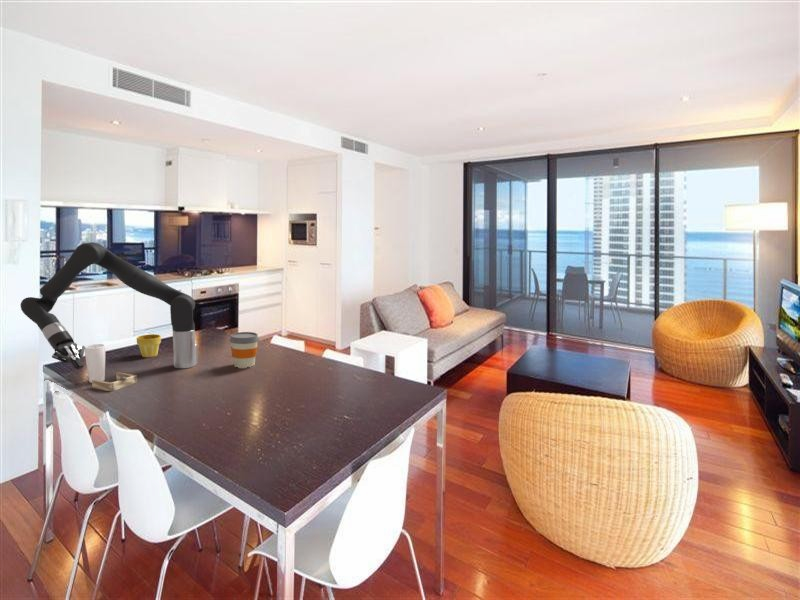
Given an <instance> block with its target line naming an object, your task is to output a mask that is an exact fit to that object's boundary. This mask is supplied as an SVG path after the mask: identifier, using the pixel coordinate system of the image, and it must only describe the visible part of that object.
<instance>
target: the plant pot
mask: <svg viewBox="0 0 800 600" xmlns="http://www.w3.org/2000/svg"><path fill="white" fill-rule="evenodd" d="M161 343H162V337H161V334H155V333H152V334H151V333H150V334H143V335H138V336H137V337H136V344H137V345H138V348H139V350H140V353H141V354H140V355H141V356H142V357H143V358H153V357H157V356H158V353H159V348H160V344H161Z"/></svg>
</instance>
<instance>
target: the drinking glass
mask: <svg viewBox="0 0 800 600" xmlns="http://www.w3.org/2000/svg"><path fill="white" fill-rule="evenodd" d="M84 357H85V362H86V369H87V375H88V381H89V383H91V384H92V380H100V381H105V379H106V375H105V373H106V345H105V344H103V343H102V344H101V343H95V344H89V345H86V346H85V350H84Z"/></svg>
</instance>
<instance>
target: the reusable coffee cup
mask: <svg viewBox="0 0 800 600" xmlns="http://www.w3.org/2000/svg"><path fill="white" fill-rule="evenodd" d="M229 340H230V345H231V346H230V351H231V357H232V358H233V363H234V368H236V367H238V368H237V369H248V368H247V367H250V368H252V367H251V366H253V365H254V366H255V363H256V356H257V355H258V354H257V353H258V347H259V345H258V341H259V335H258V333H256V332H252V331H241V332H234V333H231V334H230V339H229ZM254 366H253V367H254Z"/></svg>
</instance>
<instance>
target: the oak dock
mask: <svg viewBox="0 0 800 600" xmlns="http://www.w3.org/2000/svg"><path fill="white" fill-rule="evenodd" d="M115 377H116V378H115V379H116V381H112V382H111V381H110V382H109V381H105V380H104V381H100V380H92V383H91V386H92V389H97V390H101V391H105V392H106V391H107V392H115V391H117V390H119V389H120V390H121V389H123V388H126V387H128V386H130V385H134V384H137V383H138V375H137V374H130V373H124V372H120V371H118V372H115Z"/></svg>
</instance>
